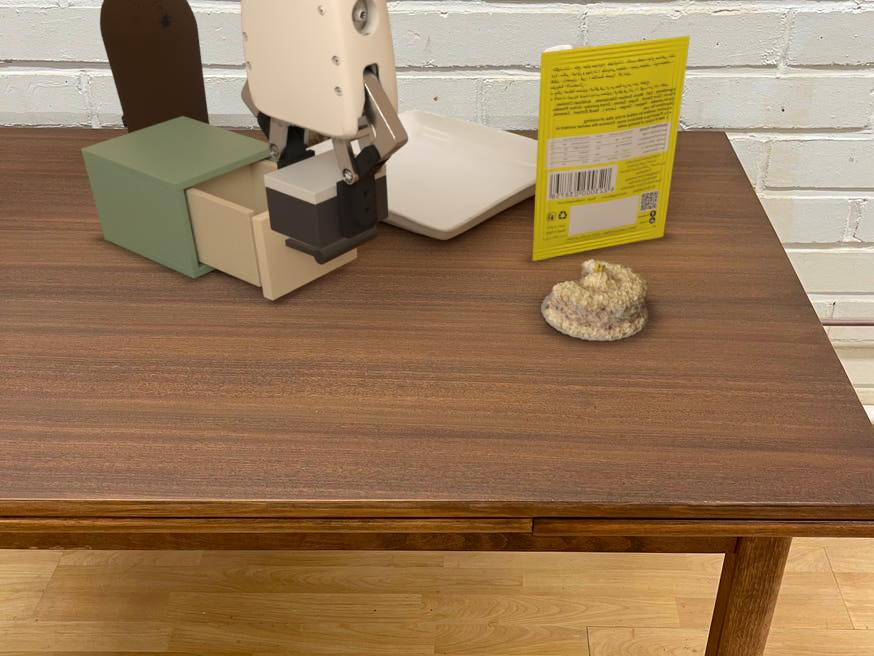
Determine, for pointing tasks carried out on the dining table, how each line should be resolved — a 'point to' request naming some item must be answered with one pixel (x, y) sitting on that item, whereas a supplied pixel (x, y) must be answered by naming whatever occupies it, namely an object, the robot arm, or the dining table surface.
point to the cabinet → (162, 185)
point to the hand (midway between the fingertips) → (329, 218)
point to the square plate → (453, 173)
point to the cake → (599, 303)
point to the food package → (606, 144)
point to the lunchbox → (313, 199)
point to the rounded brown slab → (154, 60)
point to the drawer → (257, 234)
